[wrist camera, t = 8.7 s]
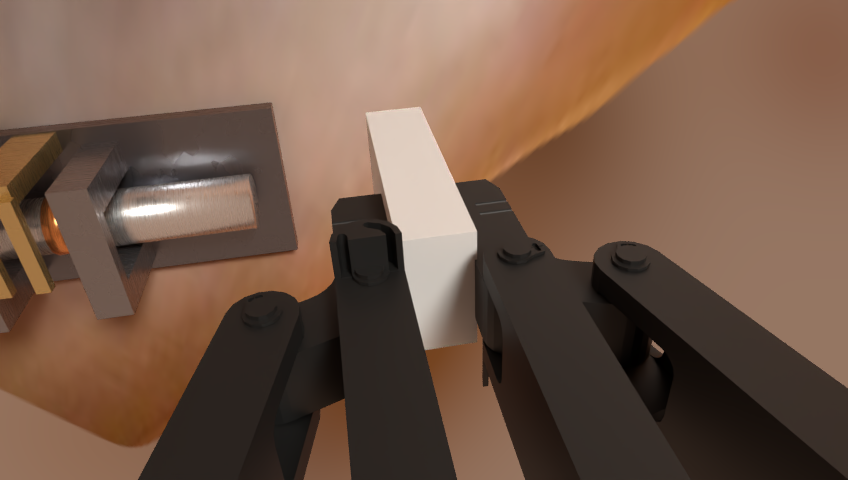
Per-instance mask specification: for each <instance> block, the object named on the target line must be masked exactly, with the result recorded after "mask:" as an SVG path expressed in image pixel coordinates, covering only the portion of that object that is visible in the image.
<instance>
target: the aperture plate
mask: <svg viewBox="0 0 848 480" xmlns="http://www.w3.org/2000/svg"><path fill="white" fill-rule="evenodd" d="M62 151H63V150H62V147H61V145H60V142H59V140H58V137H57V134H56V132H50V133H40V134H31V135H21V136H12V137H11V138H10V139H9V140H8V141H7V142H6V143H5V144H4V145H3V146H2V147H1V148H0V219H1V221H2V223H3V226H4V228H5V230H6V232H7V234H8V236H9V238H10V240H11V242H12V244H13V247H14V249H15V251H16V253H17V255H18V257H19V259H20V261H21V263H22V265H23V267H24V270H25V272H26V274H27V276H28V278H29V280H30V282H31V284H32V286H33V288H34V290H35V293H36V295H37V294H44V293H52V291H53V289H54V288H55V284H54V282H53V279H52V277H51V275H50V273H49V271H48V268H47V266H46V264H45V262H44V260H43V257H42V255H41V253H40V251H39V249H38V246H37V244H36V242H35V240H34V238H33V235H32V233H31V231H30V229H29V226H28V224H27V222H26V220H25V218H24V215H23V213H22V211H21V209H20V207H19V204H20V202H21V201H22V200H23V199H24V197H25V196H26V195H27V194H28V193H29V191H30V190H31V189H32V188H33V186H34V185H35V184H36V183H37V182H38V180H39V179H40V178H41V177H42V176H43V174H44V173H45V172H46V171H47V169H48V168H49V167H50V166H51V165H52V163H53V162H54V161H55V160H56V158H57V157H58V156H59V155H60V154H61V152H62ZM16 292H17V290H16V288H15V286H14V284H13V282H12V280H11V278H10V276H9V274H8V272H7V270H6V268H5V266H4V264H3V262H2V260H1V258H0V299H6V298H13V296H14V295H15V293H16Z"/></svg>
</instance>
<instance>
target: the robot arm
mask: <svg viewBox="0 0 848 480" xmlns="http://www.w3.org/2000/svg"><path fill="white" fill-rule="evenodd" d="M366 122H367V132H368V141H369V151H370V161H371V170H372V180H373V189H374V194H373V195H365V196H357V197H348V198H340V199H339V200H338V201H337V203H336V204H335V206H334V207H333V209H332V210H331V215H332V227H333V234H332V235H331V238H330V241H329V244H330V251H331V257H332V263H333V270H334V276H335V279H334V280H333V282H332V284H331V285H330V286H329V287H328V288H327V289H326V290H325V291H323V292H322V293H320V294H319V295H317V296H314V297H312V298H310V299H308V300H305V301H302V302H299V303H298V302H297V300H296V299H295V298H294V297H292V296H291V295H289V294H287V293H284V292H276V291H268V292H259V293H256V294H253V295H250V296H247V297H244V298H243V299H241V300H240V301H238V302H236V303H235V304H233V305H232V307H231V308H230V309H229V310H228V311H227V313H226V314H225V316H224V318H223V320H222V321H221V323H220V325H219V327H218V329H217V331H216V333H215V335H214V337H213V338H212V340H211V342H210V344H209V346H208V348H207V350H206V352H205V354H204V356H203V357H202V359H201V361H200V363H199V365H198V367H197V369H196V371H195V373H194V375H193V376H192V378H191V380H190V382H189V384H188V386H187V388H186V390H185V392H184V393H183V395H182V397H181V399H180V401H179V403H178V405H177V407H176V409H175V411H174V412H173V414H172V416H171V418H170V420H169V422H168V424H167V426H166V428H165V430H164V431H163V433H162V435H161V437H160V439H159V441H158V443H157V445H156V447H155V448H154V451H153V452H152V454H151V456H150V458H149V460H148V462H147V464H146V466H145V468H144V469H143V471H142V473H141V476H140V477H139V479H138V480H303V479H304V475H305V471H306V467H307V464H308V461H309V457H310V453H311V449H312V446H313V442H314V438H315V434H316V431H317V427H318V424H319V420H320V409H321V408H323V407H326V406H328V405H331V404H333V403H335V402H338V401H340V400H342V399H344V398H345V407H346V419H347V431H348V444H349V455H350V467H351V480H457V477H456V473H455V469H454V465H453V461H452V457H451V453H450V449H449V445H448V442H447V437H446V433H445V429H444V425H443V422H442V417H441V413H440V409H439V405H438V401H437V397H436V393H435V389H434V385H433V381H432V377H431V373H430V369H429V365H428V361H427V357H426V353H425V350H428V349H435V348H442V347H448V346H455V345H461V344H468V343H475V342H477V324H478V326H479V329H480V332H481V335H482V337H483V375H482V378H483V386H488V377H490V380H491V383H492V386H493V389H494V392H495V394H496V397H497V400H498V403H499V406H500V409H501V412H502V415H503V417H504V420H505V423H506V426H507V429H508V432H509V434H510V437H511V440H512V443H513V446H514V449H515V451H516V454H517V457H518V460H519V463H520V466H521V469H522V471H523V474H524V477H525V480H848V388H846V387H845V386H844V385H842V384H841V383H840V382H838V381H837V380H835V379H834V378H833V377H831V376H830V375H828V374H827V373H826V372H824V371H823V370H822V369H820V368H819V367H817V366H816V365H815V364H813V363H812V362H810V361H809V360H808V359H806V358H805V357H803V356H802V355H801V354H799V353H798V352H797V351H795V350H794V349H793V348H791V347H790V346H788V345H787V344H786V343H784V342H783V341H781V340H780V339H779V338H777V337H776V336H775V335H773V334H772V333H770V332H769V331H768V330H766V329H765V328H763V327H762V326H761V325H759V324H758V323H757V322H755V321H754V320H752V319H751V318H750V317H748V316H747V315H745V314H744V313H743V312H741V311H740V310H738V309H737V308H736V307H734V306H733V305H732V304H730V303H729V302H727V301H726V300H725V299H723V298H722V297H721V296H719V295H718V294H717V293H715V292H714V291H712V290H711V289H710V288H708V287H707V286H705V285H704V284H703V283H701V282H700V281H699V280H697V279H696V278H694V277H693V276H691V275H690V274H689V273H687V272H686V271H685V270H683V269H682V268H680V267H679V266H678V265H676V264H675V263H674V262H672V261H671V260H670V259H668V258H667V257H665V256H664V255H663V254H661V253H660V252H658V251H657V250H655V249H653V248H651V247H649V246H647V245H643V244H639V243H636V242H629V241H628V242H626V241H619V242H613V243H608V244H605V245H604V246H602V247H600V248H598V250H597V251H596V252H595V254H594V259H593V262H579V261H568V260H561V259H557V258H555V257H554V256H553V254H552V252H551V251H550V249H549V248H548V247H547V246H546V245H545V244H544V243H542V242H540V241H538V240H536V239H533V238H529V237H528V236H527V235H526V233H525V231H524V230H523V228H522V226H521V224H520V222H519V221H518V219H517V217H516V216H515V214H514V212H513V211H512V210H511V207H510V205H509V204H508V202H506V198H505V197H504V195H503V193H502V192H501V190H500V188H498V187H497V186H495V185H494V184H492V183H491V182H489V181H487V180H486V179H484V180H476V181H467V182H459V183H455V182H454V180H453V178H452V175H451V173H450V171H449V169H448V167H447V164H446V162H445V160H444V158H443V156H442V154H441V151H440V149H439V147H438V145H437V143H436V140H435V138H434V136H433V134H432V132H431V129H430V127H429V125H428V123H427V121H426V119H425V116H424V114H423V112H422V110H421V108H420V107H414V108H405V109H395V110H386V111H376V112H367V113H366ZM652 340H653V341H654V342H655V343H656V344H657V345H659V346H660V347H661V348H662V349H663V350H664V353H663V354H662V353H661V352H659V351H658V350H657V349H656V348H654V347H653V346H652V345H651V344H652Z"/></svg>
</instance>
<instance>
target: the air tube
mask: <svg viewBox="0 0 848 480" xmlns="http://www.w3.org/2000/svg"><path fill="white" fill-rule="evenodd" d="M19 207H20V209H21V211H22V213H23V215H24V218H25V220H26V222H27V224H28V226H29V229H30V231H31V233H32V235H33V238H34V240H35V242H36V244H37V246H38V249H39V251H40V253H41V255H49V254H57V255H66V254H70V253H69V251H68V249H67V246H66V244H65V242H64V239H63V237H62V235H61V232H60V230H59V227H58V225H57V223H56V220H55V218H54V216H53V213H52V211H51V209H50V206H49V204H48V201H47V199H46V197H43V198H34V199H25V200H22V201H21V202H20V204H19ZM103 214H104V217H105V220H106V222H107V225H108V228H109V230H110V233H111V236H112V238H113V241H114V244H115V246H121V245H129V244H137V243H144V242H152V241H160V240H168V239H176V238H184V237H192V236H200V235H208V234H216V233H224V232H232V231H240V230H248V229H256V228H259V224H260V215H259V204H258V197H257V192H256V187H255V183H254V180H253V177H252V175H251V174H242V175H233V176H225V177H216V178H207V179H199V180H190V181H181V182H173V183H164V184H155V185H147V186H138V187H129V188H121V189H116V191H115V193H114V195H113V196H112V198H111V200H110V202H109V203H108V205H107V207H106V209H105V211H104V212H103ZM0 258H1V260H9V259H17V258H19V257H18V255H17V253H16V251H15V249H14V247H13V244H12V242H11V240H10V238H9V236H8V234H7V232H6V230H5V228H4V226H3V223H2V221H1V219H0Z"/></svg>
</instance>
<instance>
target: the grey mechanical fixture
mask: <svg viewBox="0 0 848 480" xmlns="http://www.w3.org/2000/svg"><path fill="white" fill-rule="evenodd" d="M50 132H56V134H57V137H58V140H59V142H60V145H61V147H62V150H63V151H62V152H61V154H60V155H59V156H58V157H57V158H56V160H55V161H54V162H53V163H52V165H51V166H50V167H49V168H48V169H47V171H46V172H45V173H44V174H43V176H42V177H41V178H40V179H39V180H38V182H37V183H36V184H35V185H34V186H33V188H32V189H31V190H30V191H29V193H28V194H27V195H26V196H25V197H24V199H23V200H25V199H34V198H43V197H46V199H47V201H48V204H49V206H50V209H51V211H52V213H53V216H54V218H55V220H56V223H57V225H58V227H59V230H60V232H61V235H62V237H63V239H64V242H65V244H66V246H67V249H68V251H69V253H70V254H66V255H57V254H49V255H42V257H43V260H44V262H45V264H46V266H47V268H48V271H49V273H50V275H51V277H52V279H53V281H59V280H67V279H75V278H80V279H81V282H82V284H83V286H84V289H85V291H86V294H87V296H88V298H89V301H90V303H91V305H92V308H93V310H94V312H95V315H96V317H97V320H99V319H106V318H113V317H120V316H128V315H134V314H135V312H136V309H137V306H138V303H139V301H140V298H141V295H142V292H143V290H144V287H145V284H146V282H147V279H148V276H149V273H150V271H151V268H159V267H167V266H174V265H182V264H190V263H197V262H205V261H213V260H220V259H228V258H236V257H243V256H251V255H259V254H266V253H274V252H282V251H289V250H297V249H298V241H297V235H296V230H295V225H294V219H293V214H292V209H291V203H290V198H289V192H288V187H287V182H286V176H285V171H284V166H283V160H282V155H281V150H280V144H279V139H278V133H277V128H276V123H275V117H274V112H273V107H272V103H263V104H253V105H243V106H234V107H224V108H214V109H204V110H195V111H185V112H175V113H165V114H156V115H146V116H136V117H126V118H117V119H107V120H97V121H87V122H78V123H68V124H58V125H48V126H39V127H29V128H19V129H9V130H0V148H1V147H2V146H3V145H4V144H5V143H6V142H7V141H8V140H9V139H10V138H11V137H12V136H21V135H31V134H40V133H50ZM242 174H251V175H252V177H253V180H254V183H255V187H256V192H257V197H258V204H259V215H260V224H259V228H256V229H248V230H240V231H232V232H224V233H216V234H208V235H200V236H192V237H184V238H176V239H168V240H160V241H152V242H144V243H137V244H129V245H121V246H115V244H114V241H113V238H112V236H111V233H110V230H109V228H108V225H107V222H106V220H105V217H104V214H103V212H104V211H105V209H106V207H107V205H108V203H109V202H110V200H111V198H112V196H113V195H114V193H115V191H116V189H121V188H129V187H138V186H147V185H155V184H164V183H173V182H181V181H190V180H199V179H207V178H216V177H225V176H233V175H242ZM2 262H3V264H4V266H5V268H6V270H7V272H8V274H9V276H10V278H11V280H12V282H13V284H14V286H15V288H16V290H17V292H16V293H15V295H14V296H13V298H6V299H0V333H5V332H10V330H11V329H12V327H13V326H14V324H15V322H16V321H17V319H18V317H19V316H20V314H21V313H22V311H23V309H24V308H25V306H26V305H27V303H28V301H29V300H30V298H31V296H32V295H33V293H34V292H35V290H34V288H33V286H32V284H31V282H30V280H29V278H28V276H27V274H26V272H25V270H24V267H23V265H22V263H21V261H20V259H19V258H17V259H9V260H2Z"/></svg>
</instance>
